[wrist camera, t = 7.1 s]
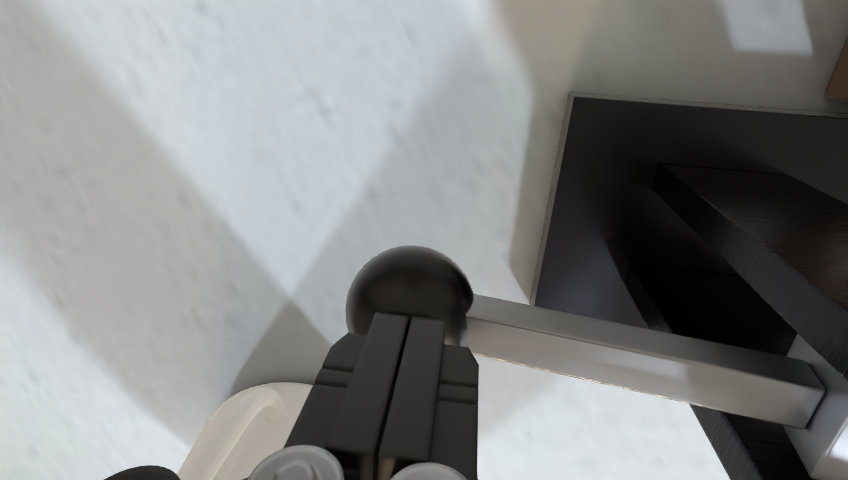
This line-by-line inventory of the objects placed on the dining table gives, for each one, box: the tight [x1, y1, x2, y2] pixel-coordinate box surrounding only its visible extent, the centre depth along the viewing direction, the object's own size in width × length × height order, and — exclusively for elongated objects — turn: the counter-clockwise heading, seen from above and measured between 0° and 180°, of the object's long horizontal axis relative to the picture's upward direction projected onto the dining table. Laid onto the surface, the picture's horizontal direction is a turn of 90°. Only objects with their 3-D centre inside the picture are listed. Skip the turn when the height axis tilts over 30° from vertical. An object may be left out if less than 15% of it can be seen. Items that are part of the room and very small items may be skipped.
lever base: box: [530, 92, 848, 480], centre depth 13 cm, size 11×9×12 cm
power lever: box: [346, 246, 848, 480], centre depth 11 cm, size 13×3×3 cm, turn 87°
